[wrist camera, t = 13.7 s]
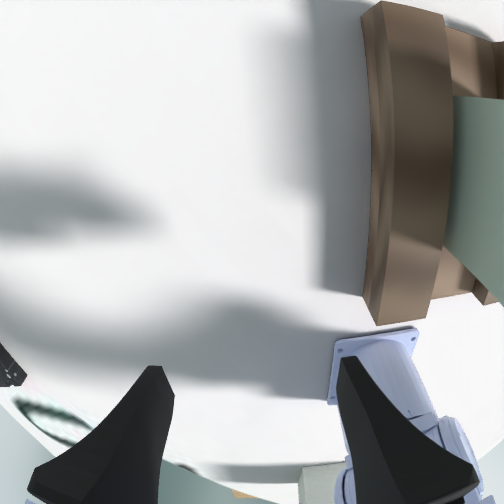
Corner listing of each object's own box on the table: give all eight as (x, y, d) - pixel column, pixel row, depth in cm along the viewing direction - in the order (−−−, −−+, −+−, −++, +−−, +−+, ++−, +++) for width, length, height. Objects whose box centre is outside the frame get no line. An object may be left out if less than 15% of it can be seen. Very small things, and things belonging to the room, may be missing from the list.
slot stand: (492, 277, 21) (512, 298, 18) (362, 297, 22) (376, 326, 19) (511, 57, 12) (539, 57, 9) (360, 16, 13) (380, 0, 10)
